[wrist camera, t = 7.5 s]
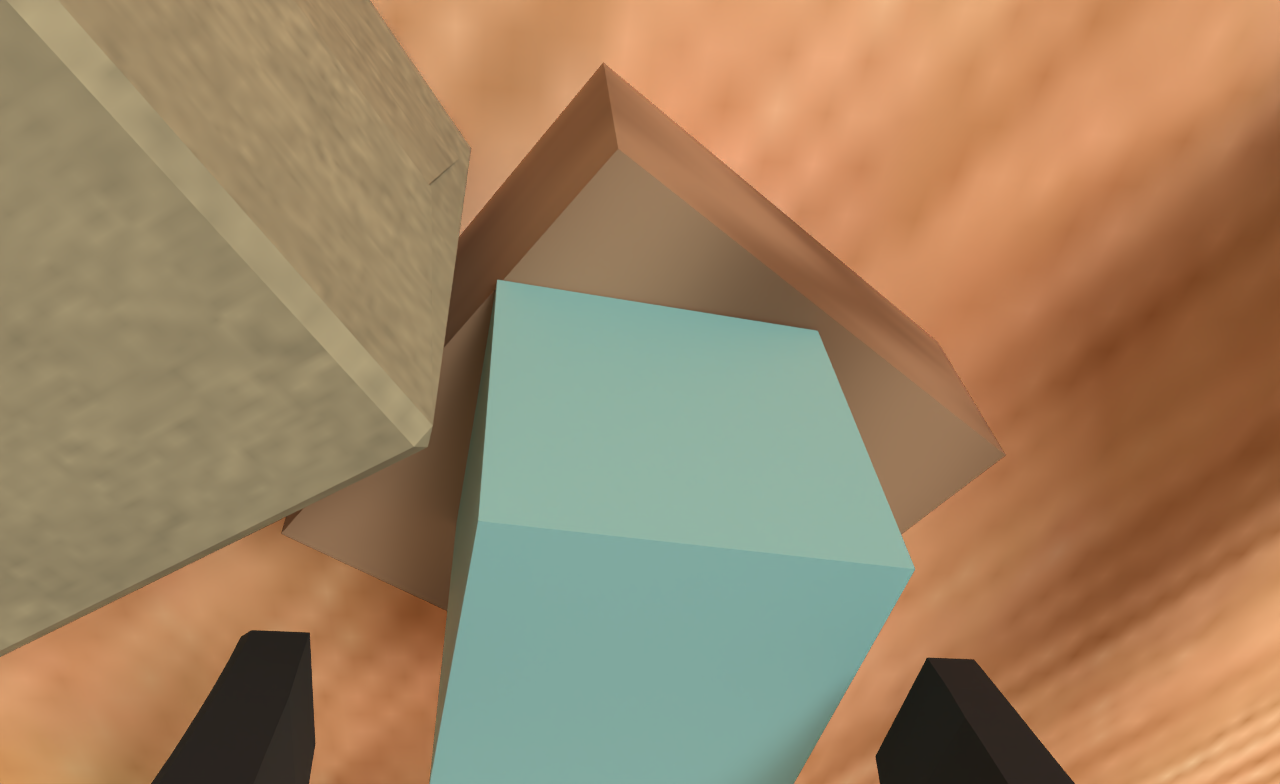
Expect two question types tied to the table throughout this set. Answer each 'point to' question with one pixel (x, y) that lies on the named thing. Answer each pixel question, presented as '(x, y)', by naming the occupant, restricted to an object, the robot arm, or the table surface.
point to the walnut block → (660, 275)
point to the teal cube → (656, 550)
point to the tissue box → (206, 280)
